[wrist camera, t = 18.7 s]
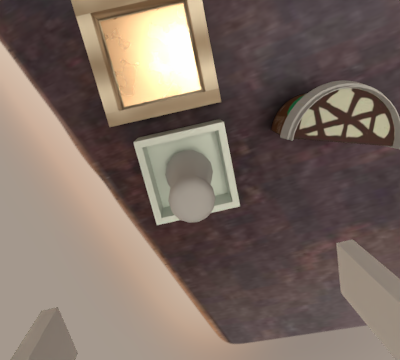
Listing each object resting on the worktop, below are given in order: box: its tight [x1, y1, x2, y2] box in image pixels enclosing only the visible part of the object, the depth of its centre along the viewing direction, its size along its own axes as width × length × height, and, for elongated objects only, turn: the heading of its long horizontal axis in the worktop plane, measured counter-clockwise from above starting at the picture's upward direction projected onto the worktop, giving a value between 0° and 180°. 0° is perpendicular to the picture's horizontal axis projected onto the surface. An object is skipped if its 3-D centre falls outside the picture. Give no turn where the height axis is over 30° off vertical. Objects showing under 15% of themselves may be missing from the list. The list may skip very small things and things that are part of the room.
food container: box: [271, 81, 400, 149], centre depth 33 cm, size 12×6×10 cm, turn 85°
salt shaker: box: [165, 150, 215, 223], centre depth 32 cm, size 6×6×13 cm
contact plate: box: [100, 3, 201, 107], centre depth 34 cm, size 9×9×1 cm
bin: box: [133, 119, 240, 225], centre depth 37 cm, size 11×11×4 cm
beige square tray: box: [71, 0, 221, 127], centre depth 33 cm, size 13×13×4 cm
